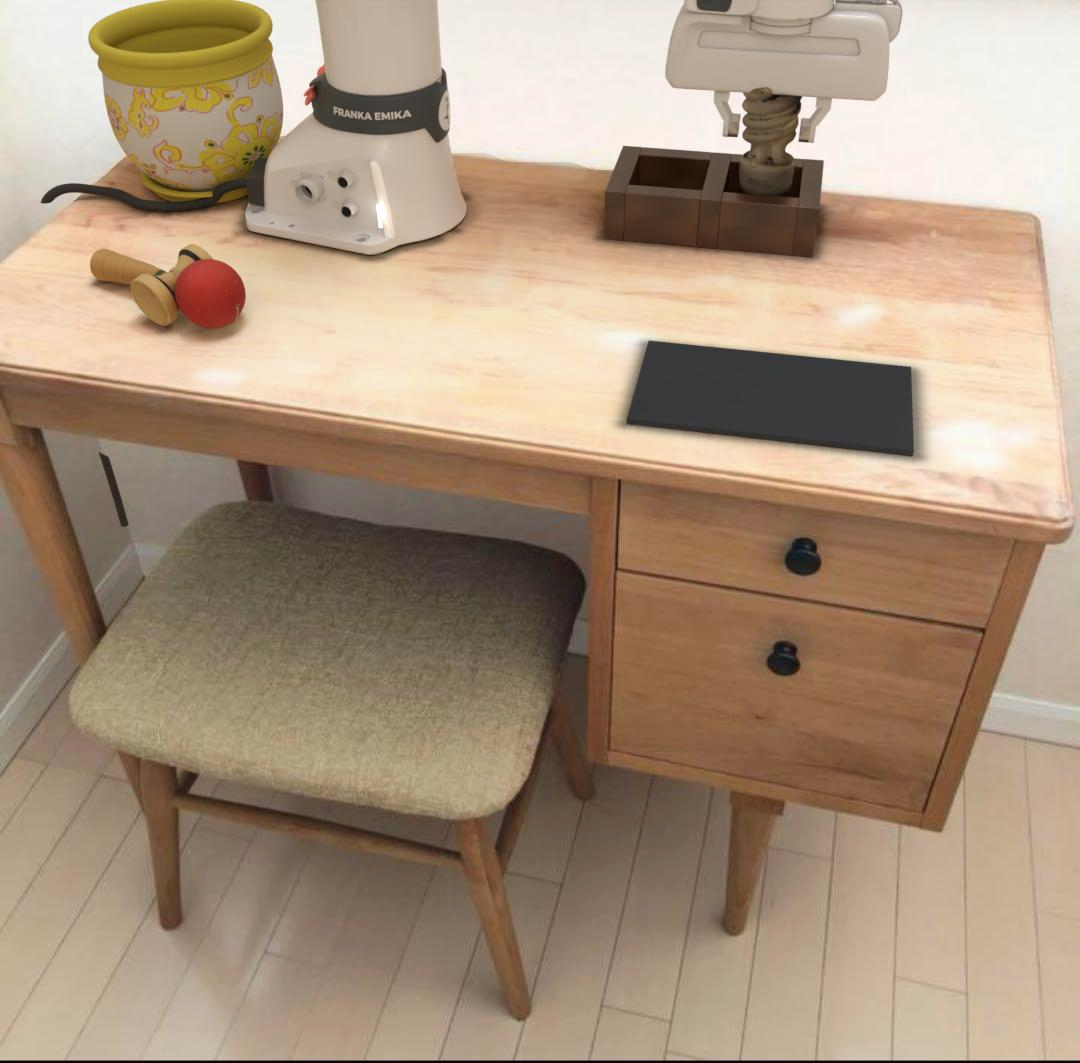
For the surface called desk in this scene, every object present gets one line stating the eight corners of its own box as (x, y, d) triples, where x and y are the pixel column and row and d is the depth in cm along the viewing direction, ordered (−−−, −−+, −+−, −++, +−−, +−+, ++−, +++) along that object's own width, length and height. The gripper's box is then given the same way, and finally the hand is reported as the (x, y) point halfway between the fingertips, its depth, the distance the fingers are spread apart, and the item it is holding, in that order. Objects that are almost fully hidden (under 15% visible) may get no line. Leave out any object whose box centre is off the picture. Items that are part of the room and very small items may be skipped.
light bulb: (728, 236, 121) (742, 85, 111) (731, 212, 125) (745, 64, 115) (786, 240, 120) (805, 88, 110) (787, 216, 124) (806, 67, 114)
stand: (603, 239, 120) (604, 191, 117) (621, 191, 129) (623, 145, 126) (812, 257, 117) (819, 208, 114) (817, 206, 125) (823, 160, 122)
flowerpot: (321, 156, 137) (301, 4, 126) (247, 226, 124) (218, 63, 113) (178, 139, 141) (147, -10, 130) (92, 206, 128) (50, 46, 117)
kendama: (73, 312, 113) (202, 344, 104) (59, 244, 110) (190, 271, 101) (141, 292, 119) (269, 321, 109) (129, 227, 116) (260, 251, 106)
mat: (626, 423, 96) (626, 418, 96) (648, 345, 105) (648, 340, 105) (912, 455, 93) (914, 450, 92) (910, 371, 101) (911, 366, 101)
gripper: (905, -20, 108) (879, 132, 117) (676, -31, 111) (667, 117, 120) (906, 2, 103) (879, 159, 112) (667, -10, 107) (659, 143, 116)
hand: (768, 137), depth 116 cm, fingers open, 6 cm apart
